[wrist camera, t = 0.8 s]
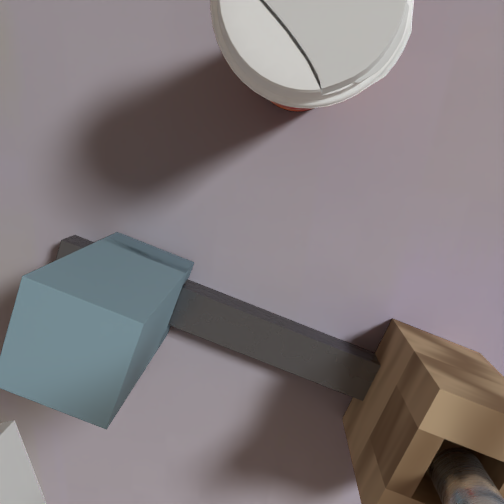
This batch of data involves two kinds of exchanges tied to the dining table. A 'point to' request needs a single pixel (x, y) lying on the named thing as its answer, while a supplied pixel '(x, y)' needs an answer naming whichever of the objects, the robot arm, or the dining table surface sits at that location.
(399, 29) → the paper cup
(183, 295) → the rail
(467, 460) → the plunger
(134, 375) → the block
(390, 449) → the housing
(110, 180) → the dining table surface
